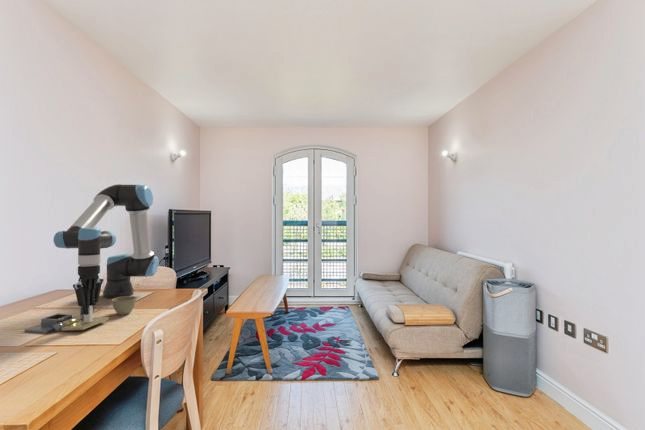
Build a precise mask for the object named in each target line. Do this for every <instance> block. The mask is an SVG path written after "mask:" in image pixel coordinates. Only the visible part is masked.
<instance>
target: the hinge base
mask: <svg viewBox="0 0 645 430" xmlns="http://www.w3.org/2000/svg"><path fill="white" fill-rule="evenodd" d="M78 316H79V317H81V319H82V320H84V315H80V314H79V315H73V314H71V313H70V314H66V313H55V314H52V315H49V316H46V317H43V318H41V319H40V323H39V324H37V325H34V326H30V327H28V328H24V333H33V334H34V333H35V334H50V333H57V332H61V328H62V327H65V326H66V324H65V323H64V321H67V320H70V319H72V318H75V317H78Z"/></svg>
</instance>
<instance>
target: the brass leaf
mask: <svg viewBox="0 0 645 430" xmlns="http://www.w3.org/2000/svg"><path fill="white" fill-rule="evenodd" d="M77 316H78V317H75V318H72V319H70V320H67V321H64V323H65V324H66V326H65V327H62V328H61V330H60V332H61V331H83V330H87V329H88V328H89V329H90V328H91V327H94V326H95V325H98V324H100V323H103V322H106V321H108V320H109V319H110V317H109V316H101V317H99V316H98V317H93V321H92V322H84V320H82V319H81V317H79V316H80V315H77Z"/></svg>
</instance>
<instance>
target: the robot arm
mask: <svg viewBox="0 0 645 430" xmlns="http://www.w3.org/2000/svg"><path fill="white" fill-rule="evenodd" d="M153 202H154V195H153V193H152V190H151V189H150V187H149V186H147V185H145V184H143V185H142V184H113V185H110V186H108V187H106V188H104V189H103V190H100V191H99V192H98V193H97V194H96V195H95V196H94V198H93V201H92V203H91V204H90V205H89V206H88V207H87V208H86V209H85V210H84V211H83V212H82V213H81V215H80V216H79V217H78V218H77V219H76V220H75V221H74V222H73V223H72V224H71V226H69V228H67V230H61V231H57V232H56V233H54V237H53V243H54V246H55V247H57V248H58V249H67V250H68V249H78V250H77V251H78V252H77V265H78V266H77V275H78V276H79V278H78V280H77V281H78V282H77V283H76V284H75V283H74V284H73V285H72V287H73V289H74V291H75V292H74V293H75V296H76V300H77V305H78V307H80V306H82V307H83V315H84V322H92V321H93V318H94V312H95V310H94V309H95V308H94V307H95V306H96V305H97V303H98V302H99V299H100V294H101V290H102V284H103V283H104V278H100V276H99V274H100V273H101V265H100V264H101V249H108V248H111V247H113V246H114V245H115V243H116V242H117V235H116V234H114V232H112V231H110V230H109V231H108V230H102V231H101V229H100V228H99V227H96V225H97V224H98V223H99V222H100V221H101V220H102V218H103V217H104V216H105V214H107V212H108V211H111V210H112V209H113V208H114V207H119V206H120V207H124V208H125V211H126V212H128V213H129V221H130V222H129V223H130V229H131V239H132V246H133V248H132V249H133V253H132V254H131V253H124V254H117V255H111V256H109V257H108V258H107V259H106V283H105V285H104V289H103V291H102V298H107V299H114V298H117V297H123V296H133V295H134V292H135V291H134V288H133V284H132V281H131V277H133V278H134V277H137V278H138V277H139V278H141V277H142V278H143V277H145V278H147V277H154V276H155V275H156V274H157V272H158V269H159V265H160V263H159V262H160V258H159V257H158V256H157V255H155V252H154V251H153V250H151V239H150V230H149V227H150V226H149V218H148V211H149V210H150V207H152V205H153Z"/></svg>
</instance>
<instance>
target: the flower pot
mask: <svg viewBox="0 0 645 430" xmlns="http://www.w3.org/2000/svg"><path fill="white" fill-rule="evenodd" d="M136 302H137V296H135V295H129V296H123V297H117V298H111V305H112V308H113V309H114V311H115V312H116V314H117V315H118V316H125V315H129V314H131V313H132V311H133V309H134V308H135V305H136Z"/></svg>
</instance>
